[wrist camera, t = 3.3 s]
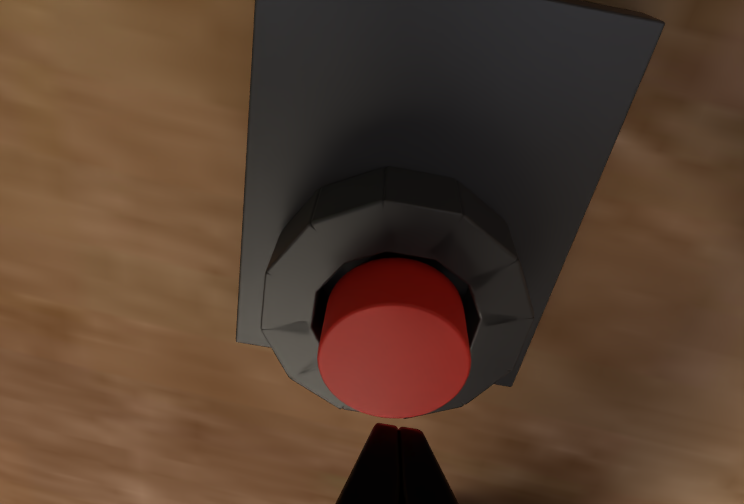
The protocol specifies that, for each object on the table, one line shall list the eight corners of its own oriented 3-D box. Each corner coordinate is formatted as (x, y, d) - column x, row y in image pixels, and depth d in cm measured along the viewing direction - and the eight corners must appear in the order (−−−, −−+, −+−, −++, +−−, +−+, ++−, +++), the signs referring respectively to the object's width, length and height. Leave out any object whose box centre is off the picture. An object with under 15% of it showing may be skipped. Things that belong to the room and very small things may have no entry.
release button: (445, 374, 14) (450, 429, 12) (318, 353, 14) (309, 407, 12) (479, 269, 12) (490, 319, 11) (336, 244, 12) (327, 291, 11)
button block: (505, 360, 17) (523, 439, 14) (245, 317, 17) (216, 391, 14) (644, 13, 12) (711, 40, 9) (270, -62, 11) (232, -55, 9)
